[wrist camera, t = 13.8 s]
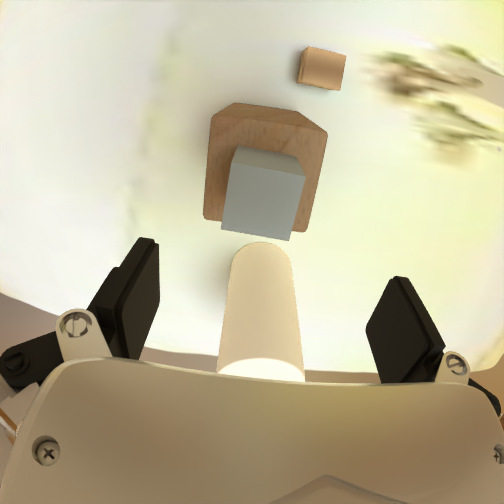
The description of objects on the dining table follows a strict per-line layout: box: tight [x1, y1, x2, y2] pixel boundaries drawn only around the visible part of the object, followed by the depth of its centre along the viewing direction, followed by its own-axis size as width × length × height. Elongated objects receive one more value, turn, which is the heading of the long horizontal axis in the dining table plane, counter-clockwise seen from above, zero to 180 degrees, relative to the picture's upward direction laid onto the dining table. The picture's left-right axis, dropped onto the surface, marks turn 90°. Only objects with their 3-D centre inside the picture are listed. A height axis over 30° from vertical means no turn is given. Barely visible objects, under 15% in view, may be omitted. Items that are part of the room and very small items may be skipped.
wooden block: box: [203, 103, 328, 232], centre depth 34 cm, size 10×10×20 cm
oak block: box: [297, 46, 346, 90], centre depth 34 cm, size 5×5×6 cm
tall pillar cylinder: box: [216, 242, 305, 382], centre depth 44 cm, size 11×11×25 cm
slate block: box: [221, 145, 306, 241], centre depth 23 cm, size 5×5×6 cm
